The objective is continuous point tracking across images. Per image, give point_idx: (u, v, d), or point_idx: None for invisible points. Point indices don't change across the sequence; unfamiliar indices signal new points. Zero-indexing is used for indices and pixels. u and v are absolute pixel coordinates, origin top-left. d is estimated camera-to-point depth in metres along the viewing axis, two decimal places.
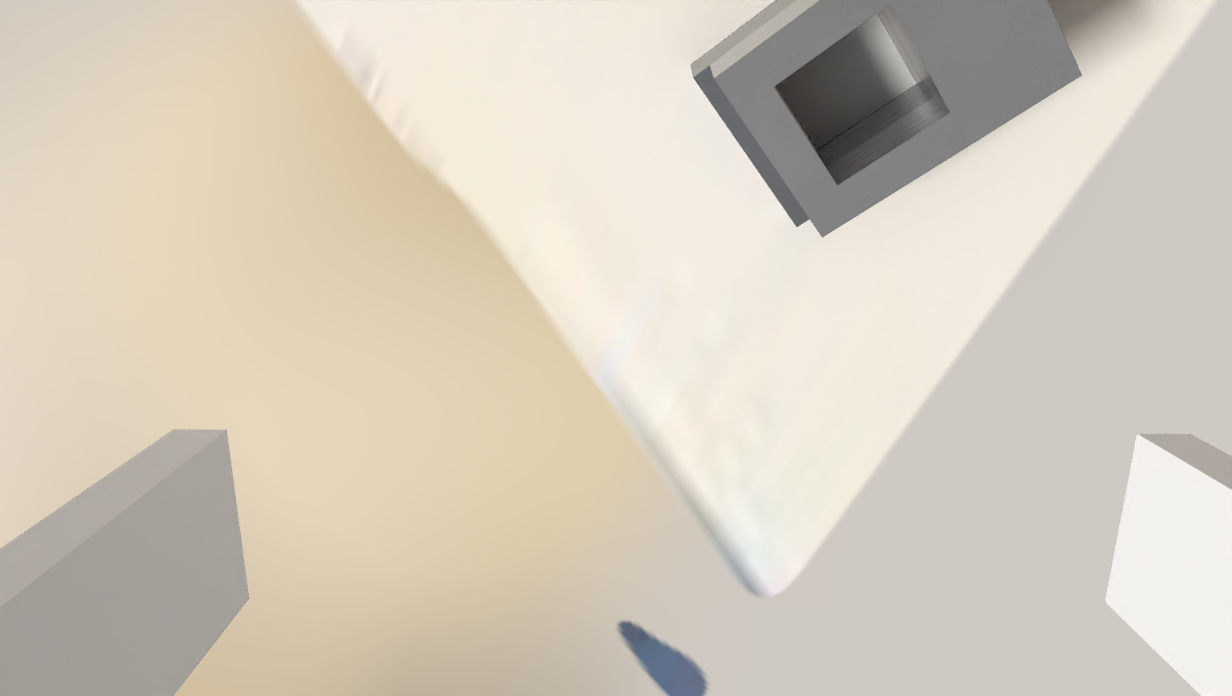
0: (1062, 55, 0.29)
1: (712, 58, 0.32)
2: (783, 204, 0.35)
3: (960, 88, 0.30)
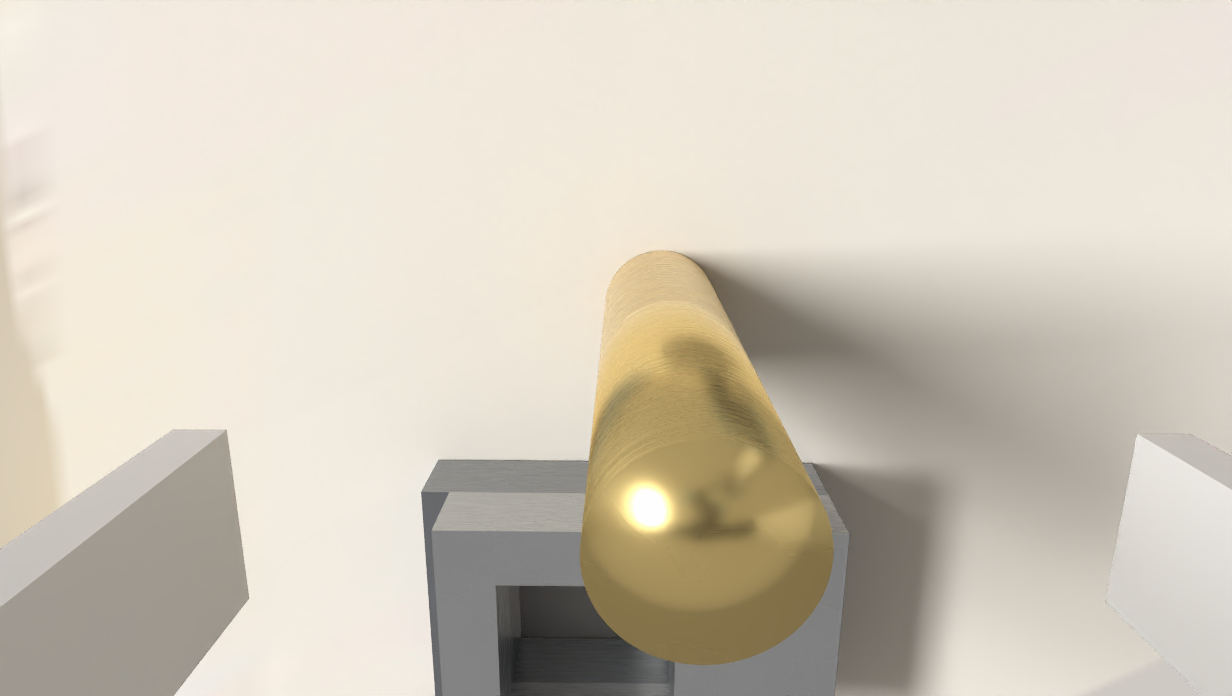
0: None
1: (460, 481, 0.24)
2: (437, 690, 0.25)
3: None
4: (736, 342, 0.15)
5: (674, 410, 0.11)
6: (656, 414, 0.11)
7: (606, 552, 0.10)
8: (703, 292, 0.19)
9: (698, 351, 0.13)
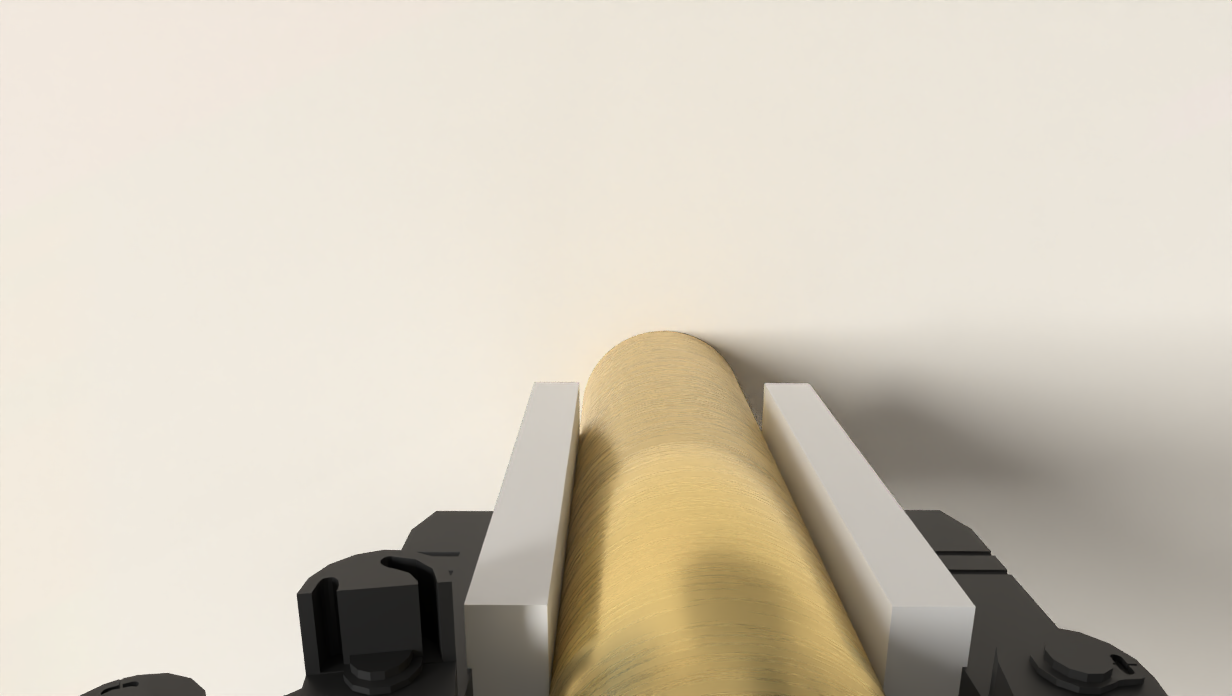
0: None
1: None
2: None
3: None
4: (817, 570, 0.08)
5: None
6: None
7: None
8: (737, 426, 0.11)
9: (763, 664, 0.06)
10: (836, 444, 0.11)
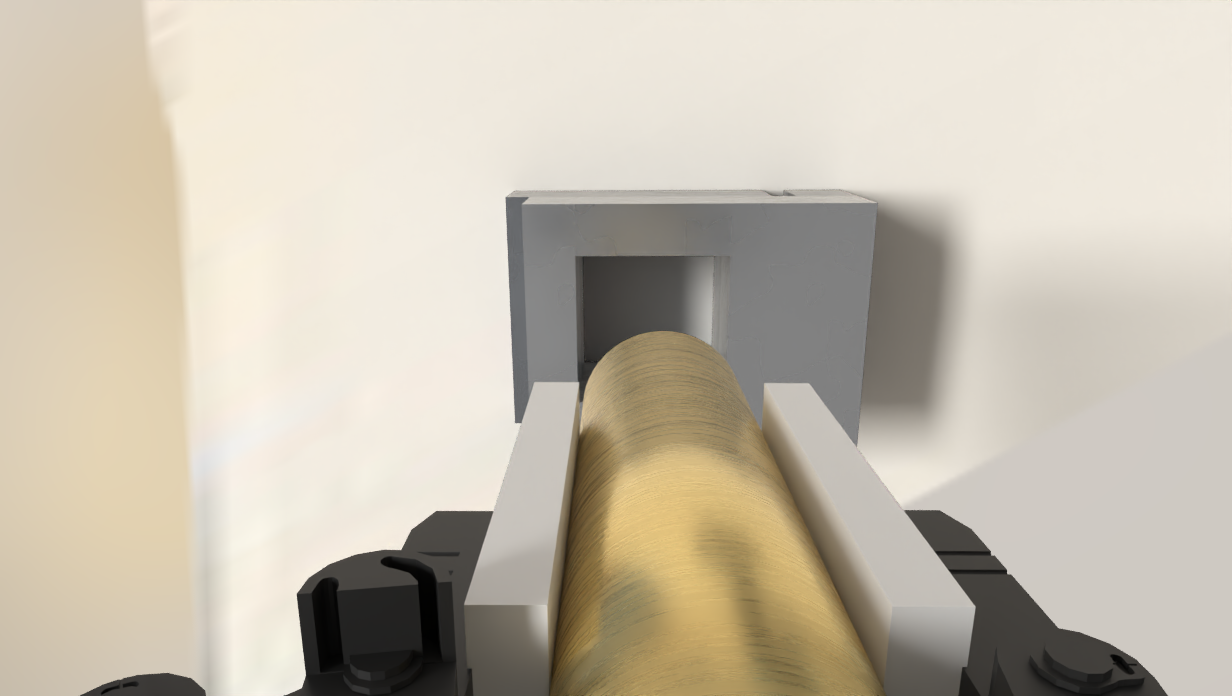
0: (850, 416, 0.26)
1: (537, 195, 0.27)
2: (516, 390, 0.28)
3: (746, 384, 0.26)
4: (817, 570, 0.08)
5: None
6: None
7: None
8: (737, 426, 0.11)
9: (764, 665, 0.06)
10: (836, 444, 0.11)
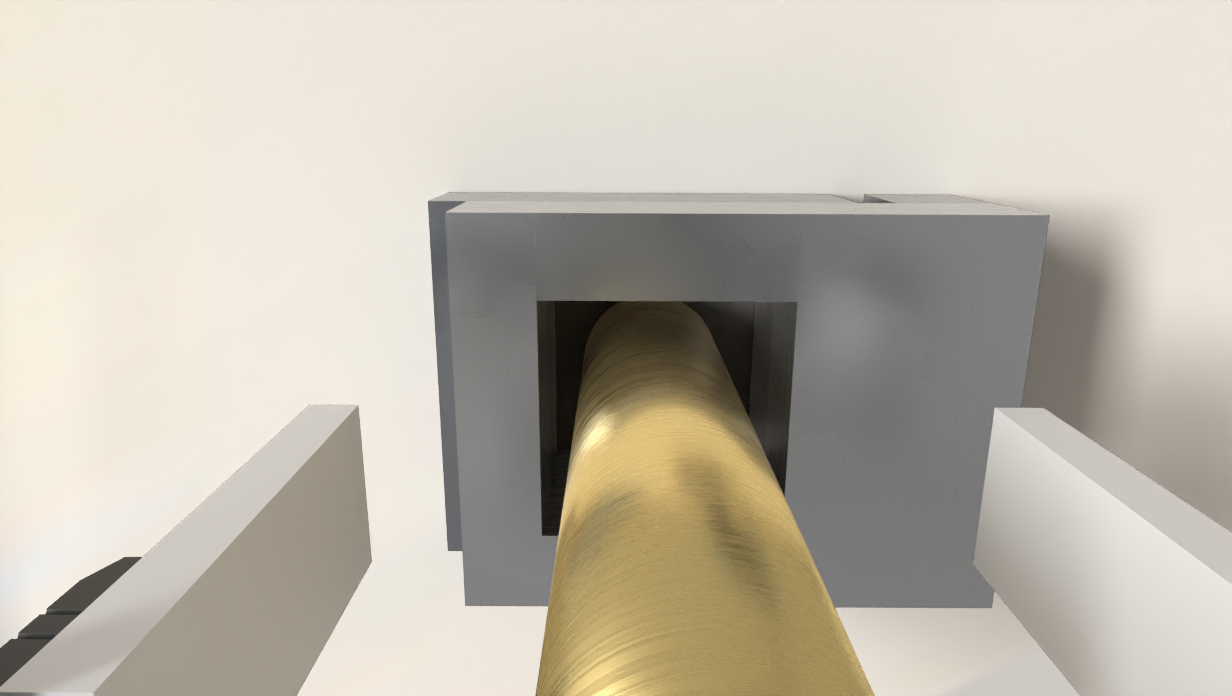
0: None
1: (481, 198, 0.17)
2: (448, 501, 0.18)
3: (817, 509, 0.16)
4: (750, 438, 0.12)
5: (668, 603, 0.07)
6: (640, 613, 0.07)
7: None
8: (704, 356, 0.15)
9: (701, 469, 0.09)
10: (1136, 482, 0.10)
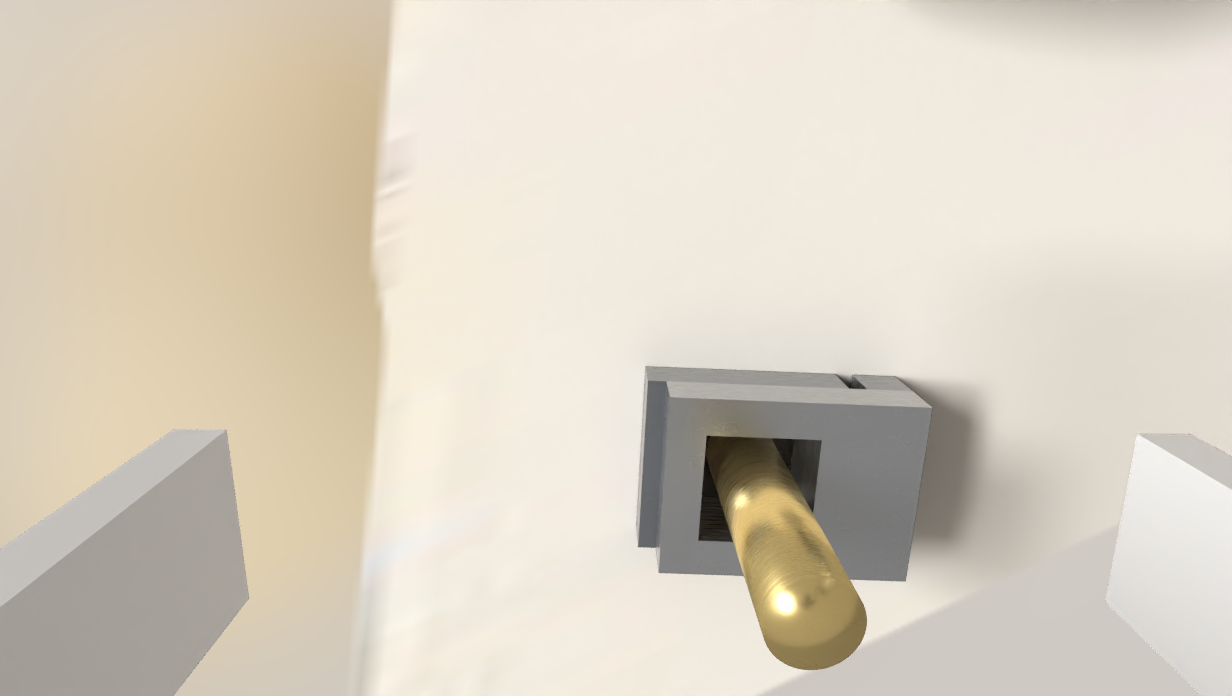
0: (902, 558, 0.35)
1: (669, 376, 0.36)
2: (641, 522, 0.37)
3: (826, 532, 0.34)
4: (807, 505, 0.30)
5: (799, 560, 0.25)
6: (791, 562, 0.25)
7: (773, 621, 0.25)
8: (780, 463, 0.33)
9: (796, 519, 0.28)
10: None
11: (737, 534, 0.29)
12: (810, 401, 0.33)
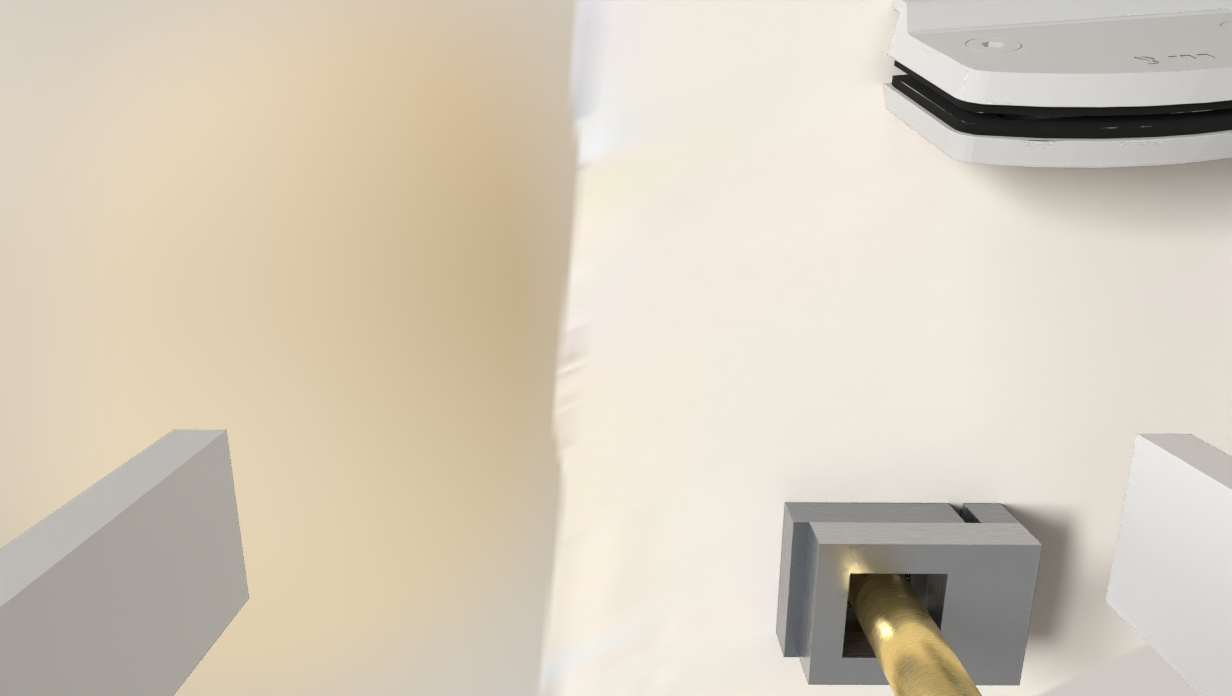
0: (1016, 666, 0.41)
1: (809, 516, 0.42)
2: (786, 636, 0.43)
3: (951, 647, 0.40)
4: (946, 641, 0.36)
5: None
6: None
7: None
8: (912, 594, 0.39)
9: (944, 663, 0.34)
10: None
11: (890, 669, 0.36)
12: (937, 542, 0.39)
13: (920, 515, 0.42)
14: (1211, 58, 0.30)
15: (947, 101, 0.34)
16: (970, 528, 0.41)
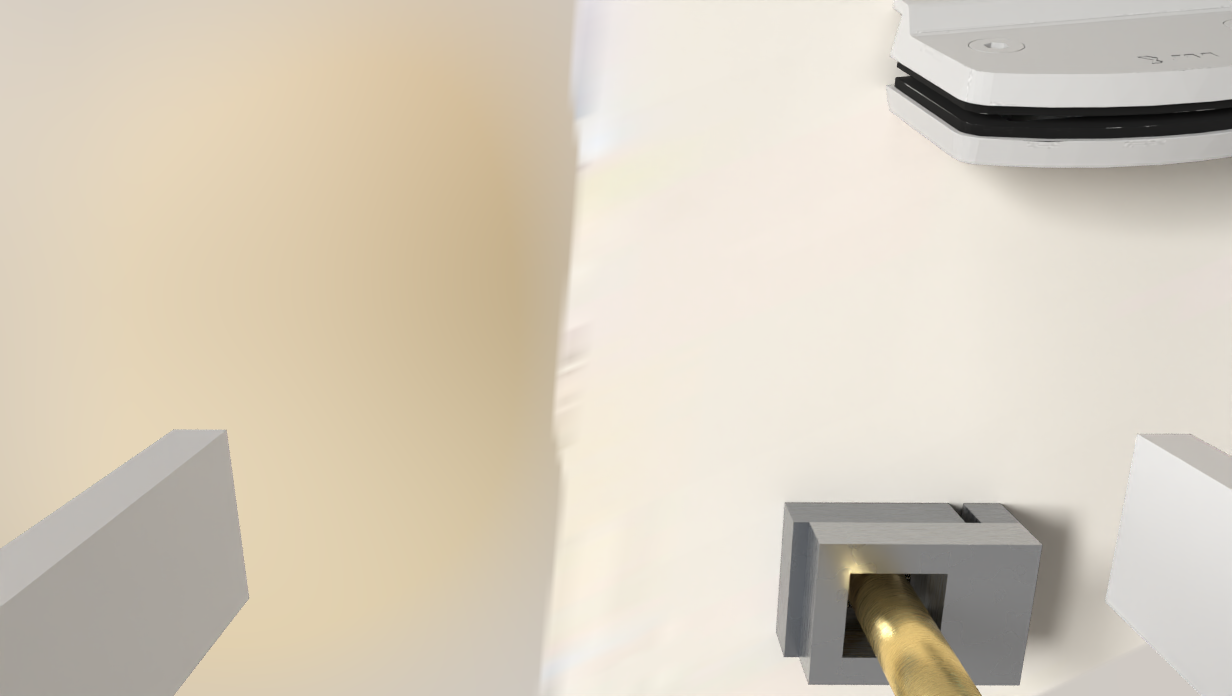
0: (1016, 666, 0.41)
1: (809, 516, 0.42)
2: (786, 636, 0.43)
3: (951, 647, 0.40)
4: (946, 641, 0.36)
5: None
6: None
7: None
8: (912, 594, 0.39)
9: (944, 663, 0.34)
10: None
11: (890, 669, 0.36)
12: (937, 542, 0.39)
13: (920, 515, 0.42)
14: (1215, 57, 0.30)
15: (950, 102, 0.34)
16: (970, 528, 0.41)
